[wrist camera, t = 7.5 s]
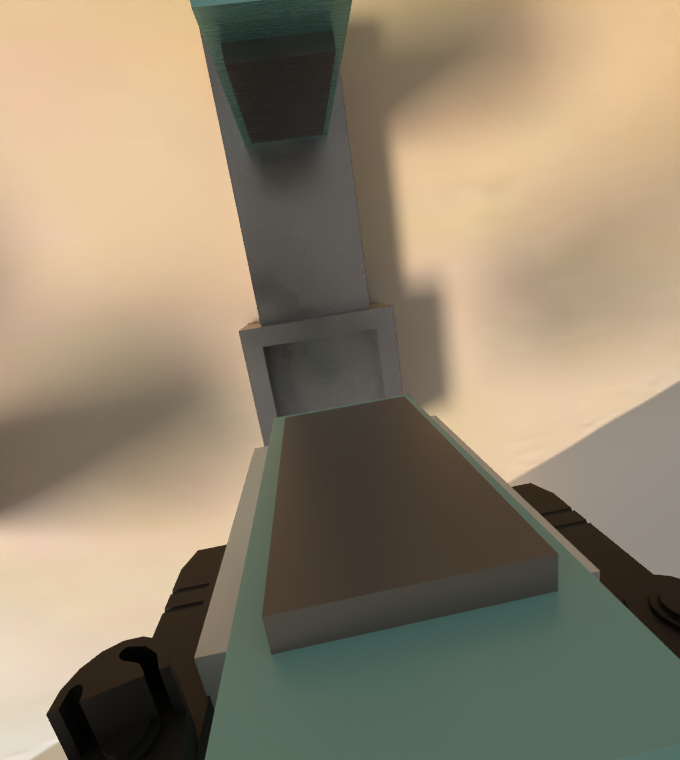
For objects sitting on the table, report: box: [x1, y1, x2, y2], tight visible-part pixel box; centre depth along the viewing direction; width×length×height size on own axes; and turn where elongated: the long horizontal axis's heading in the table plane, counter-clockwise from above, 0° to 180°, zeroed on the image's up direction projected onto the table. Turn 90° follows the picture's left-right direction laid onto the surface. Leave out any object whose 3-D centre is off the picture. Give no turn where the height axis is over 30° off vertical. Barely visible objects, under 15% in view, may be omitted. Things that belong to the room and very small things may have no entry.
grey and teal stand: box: [190, 0, 403, 447], centre depth 16 cm, size 22×8×11 cm, turn 8°
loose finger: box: [205, 394, 680, 760], centre depth 7 cm, size 5×4×9 cm
